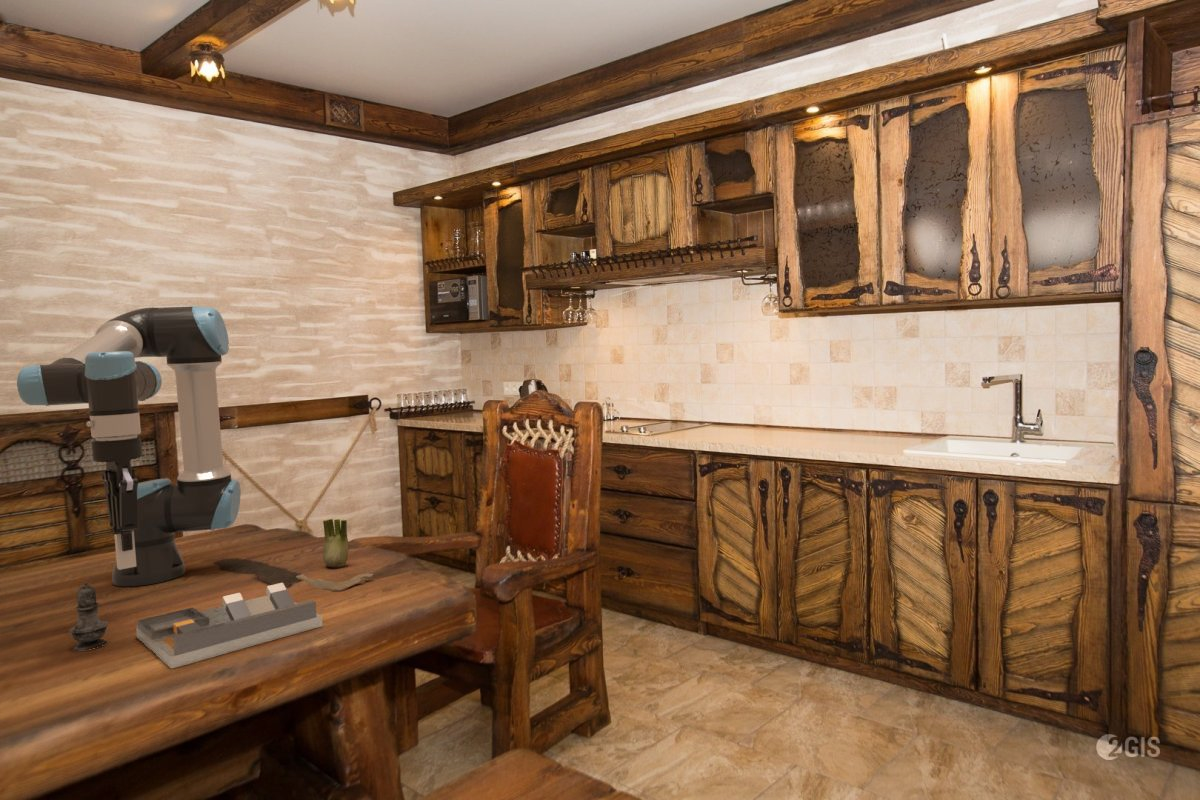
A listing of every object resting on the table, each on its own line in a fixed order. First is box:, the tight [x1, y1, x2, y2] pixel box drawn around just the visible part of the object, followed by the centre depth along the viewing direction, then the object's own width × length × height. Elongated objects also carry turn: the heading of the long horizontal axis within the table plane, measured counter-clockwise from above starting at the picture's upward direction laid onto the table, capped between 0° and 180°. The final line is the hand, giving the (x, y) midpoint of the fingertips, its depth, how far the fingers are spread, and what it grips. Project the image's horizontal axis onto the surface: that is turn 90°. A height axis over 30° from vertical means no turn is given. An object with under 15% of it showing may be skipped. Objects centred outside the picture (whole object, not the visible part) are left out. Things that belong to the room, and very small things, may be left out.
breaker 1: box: [221, 592, 252, 621], centre depth 140 cm, size 8×3×2 cm, turn 44°
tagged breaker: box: [173, 619, 201, 635], centre depth 135 cm, size 8×3×2 cm, turn 44°
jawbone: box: [295, 573, 375, 592], centre depth 173 cm, size 9×20×2 cm, turn 75°
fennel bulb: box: [322, 518, 349, 568], centre depth 187 cm, size 6×5×12 cm
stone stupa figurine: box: [69, 581, 109, 652], centre depth 139 cm, size 6×6×12 cm
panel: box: [135, 594, 323, 670], centre depth 144 cm, size 22×26×5 cm
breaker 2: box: [265, 582, 296, 610], centre depth 145 cm, size 8×3×2 cm, turn 44°
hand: (126, 567), depth 138 cm, fingers closed
